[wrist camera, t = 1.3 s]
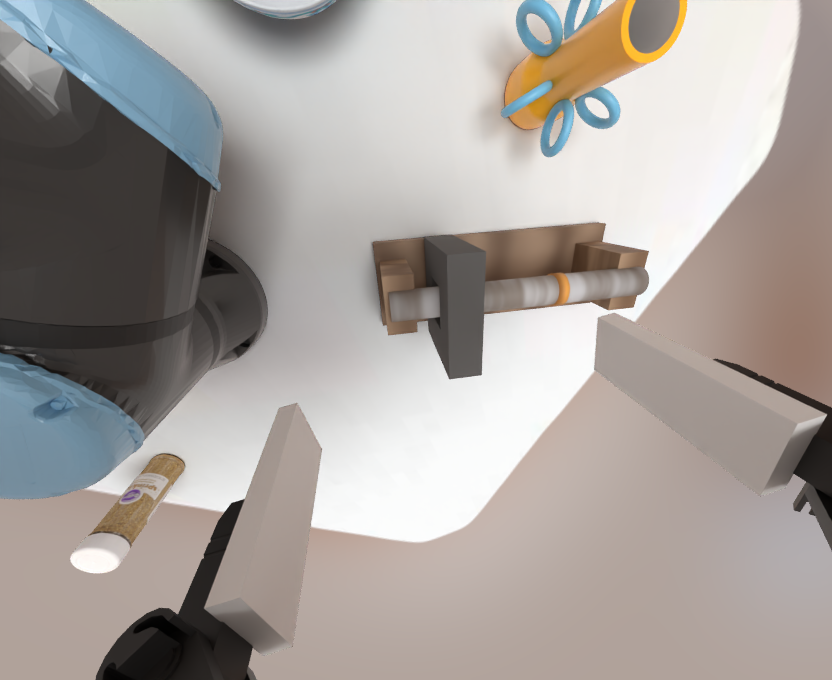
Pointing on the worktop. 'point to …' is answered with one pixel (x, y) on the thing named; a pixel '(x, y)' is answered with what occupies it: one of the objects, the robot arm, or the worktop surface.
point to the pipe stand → (516, 273)
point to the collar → (457, 302)
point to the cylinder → (585, 61)
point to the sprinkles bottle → (127, 517)
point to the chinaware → (286, 7)
